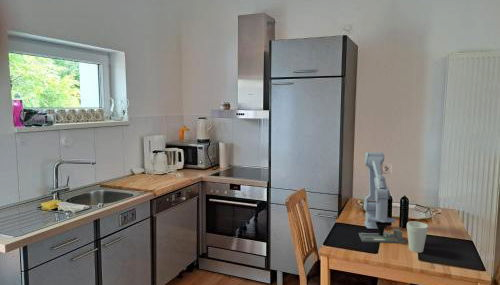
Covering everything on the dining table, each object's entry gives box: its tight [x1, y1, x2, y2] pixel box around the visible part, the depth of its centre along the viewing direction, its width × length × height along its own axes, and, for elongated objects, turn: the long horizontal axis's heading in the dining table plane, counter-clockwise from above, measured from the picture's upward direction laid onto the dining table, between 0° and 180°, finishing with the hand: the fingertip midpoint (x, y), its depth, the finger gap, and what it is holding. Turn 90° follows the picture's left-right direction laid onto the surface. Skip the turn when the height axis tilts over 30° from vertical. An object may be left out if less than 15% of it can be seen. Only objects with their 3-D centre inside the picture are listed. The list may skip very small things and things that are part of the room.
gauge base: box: [358, 228, 407, 244], centre depth 186 cm, size 10×22×4 cm, turn 85°
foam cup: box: [406, 220, 429, 254], centre depth 171 cm, size 10×9×13 cm
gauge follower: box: [382, 230, 391, 237], centre depth 184 cm, size 6×3×2 cm, turn 175°
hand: (380, 235), depth 186 cm, fingers closed
